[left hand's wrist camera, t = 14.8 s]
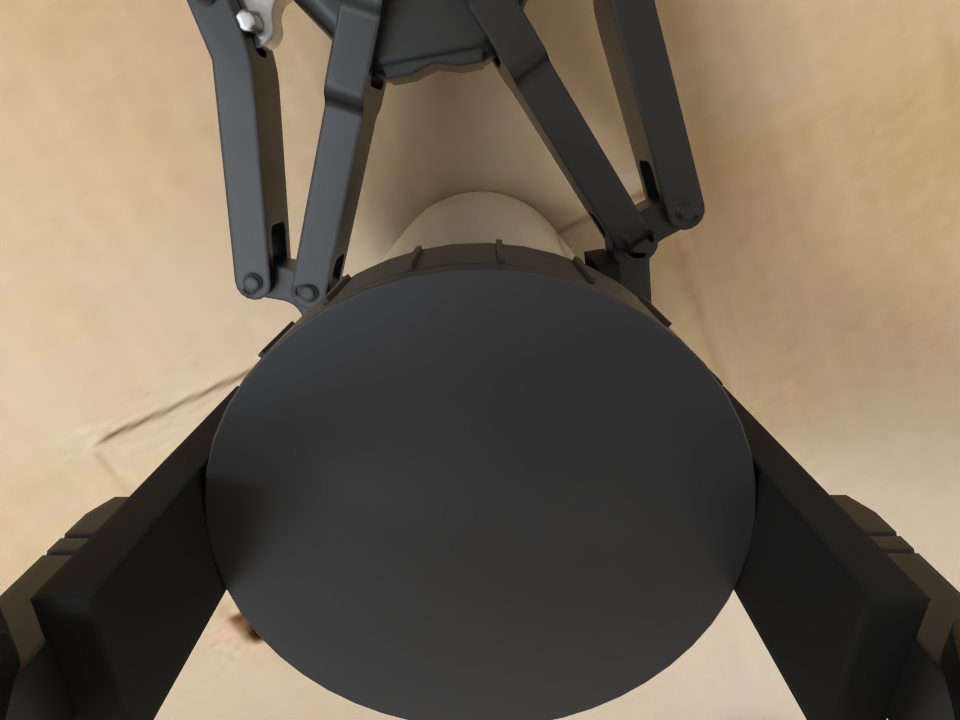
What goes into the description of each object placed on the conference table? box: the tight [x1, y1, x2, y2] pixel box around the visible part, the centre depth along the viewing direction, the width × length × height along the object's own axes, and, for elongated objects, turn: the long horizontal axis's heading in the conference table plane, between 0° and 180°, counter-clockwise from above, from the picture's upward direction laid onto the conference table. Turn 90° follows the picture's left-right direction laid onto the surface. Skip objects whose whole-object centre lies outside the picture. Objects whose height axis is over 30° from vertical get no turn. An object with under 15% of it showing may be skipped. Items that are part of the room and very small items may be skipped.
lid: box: [204, 239, 756, 720], centre depth 11 cm, size 10×10×2 cm
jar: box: [379, 191, 575, 263], centre depth 19 cm, size 9×9×18 cm
